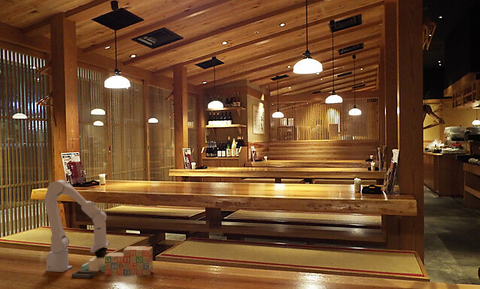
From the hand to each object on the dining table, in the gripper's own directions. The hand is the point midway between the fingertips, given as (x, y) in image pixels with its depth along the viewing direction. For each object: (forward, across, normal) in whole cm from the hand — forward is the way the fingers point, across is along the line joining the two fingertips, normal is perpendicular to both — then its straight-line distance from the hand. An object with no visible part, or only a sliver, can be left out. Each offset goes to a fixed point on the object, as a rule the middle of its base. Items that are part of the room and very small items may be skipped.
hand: (100, 262), depth 192 cm
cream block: (+2, -4, 0) cm, 4 cm away
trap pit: (+2, -14, 0) cm, 14 cm away
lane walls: (+2, -2, 0) cm, 3 cm away
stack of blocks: (+2, -8, -19) cm, 21 cm away
